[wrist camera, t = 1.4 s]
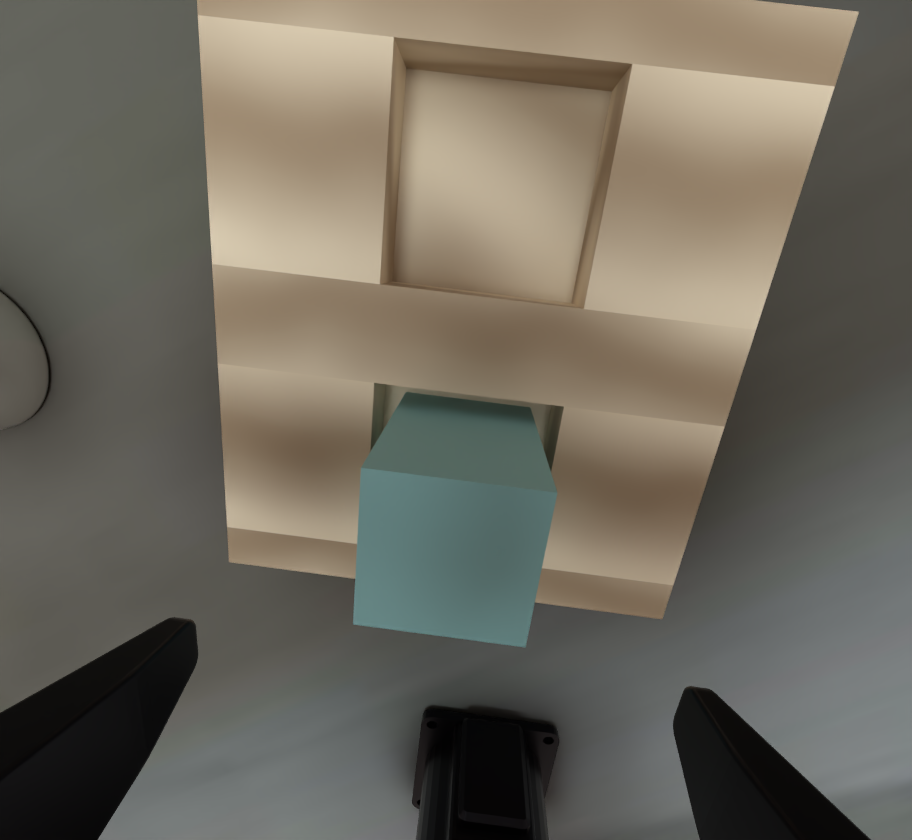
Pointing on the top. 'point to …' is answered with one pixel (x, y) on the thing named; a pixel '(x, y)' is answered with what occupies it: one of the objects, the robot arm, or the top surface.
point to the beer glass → (20, 366)
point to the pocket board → (499, 250)
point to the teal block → (453, 521)
